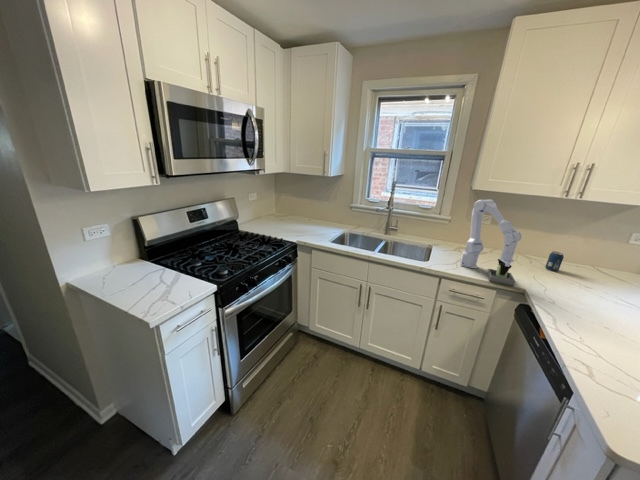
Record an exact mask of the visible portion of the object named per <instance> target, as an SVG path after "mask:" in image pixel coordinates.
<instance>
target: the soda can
mask: <svg viewBox="0 0 640 480" xmlns="http://www.w3.org/2000/svg"><path fill="white" fill-rule="evenodd" d="M563 260H564V253H562V252H559V251H551V252H550V253H549V255H548V259H547V261H546V263H545V265H544V266H545V269H546V270H547V271H549V270H550V272H555V273H556V272H558V271H560V268H561V265H562V263H563Z"/></svg>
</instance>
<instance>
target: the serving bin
mask: <svg viewBox="0 0 640 480" xmlns="http://www.w3.org/2000/svg"><path fill="white" fill-rule="evenodd" d="M496 271H497V269H493V268H487V271H486V276H487V279H488V282H490V283H494V284H498V285H504V286H509V287H512V288H513V287H515V283H516V280H515V277H513V274H512V272H508V274H507V277H506V278H502V277H497V275H496Z"/></svg>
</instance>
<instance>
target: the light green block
mask: <svg viewBox="0 0 640 480" xmlns="http://www.w3.org/2000/svg"><path fill="white" fill-rule="evenodd" d="M500 268H501V267H500V264H499V263H498V264H497V267H496V270H497V271H496V275H497V277H502V278H506V277H507V274H508V273H509V270H510V269H509V270H508V271H507V272H506V274H505V275H500Z"/></svg>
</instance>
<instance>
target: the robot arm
mask: <svg viewBox="0 0 640 480" xmlns="http://www.w3.org/2000/svg"><path fill="white" fill-rule="evenodd" d="M473 204H474V205H473V209H472V211H471V218H470V219H471V220H470V221H471V222H470V233H469V234H470V235H469V239H468V240H467V241H466V244H465V246H464V251H462V254H461V258H460V260H459V263H460V266H461V267H467V268H471V269H475V270H477V268H478V267H477V263H478V259H479V255H480V254H481V252H483V250H484V245H483V240H481V231H482V230H481V228H482V218H483V217H482V216H483V214H484V213H488V214H490V215H491V216H492V217H493V218H494V219H495V221H496V222H497V223H498V224H497V227H498V228H499V230H500V232H501V233H502V234H503V240H504V242H503V247H502V249H501V253H500V257H499V258H498V259H497V261H498V264H500V267H501V268H500V275H505V274H506V272H507V271H508V270H510V269H511V268H512V264H511V263H512V262H513V263H514V262H515V260H514V259H513V258H514V255H515V250H516V248H517V245H518V242H519V241H521V240H522V233H521V232H520V231H518V230H516V229H515V228H514V227H513V225H512V222H511V221H509V220H506V219H505V218H504V217H503V215H502V213H501V212H500V210H499V209H498V207H497V206H498V205H497V203H495V200H493V199H490V198H489V199H478V200H477V201H475V202H474V203H473ZM508 272H509V271H508Z"/></svg>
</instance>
